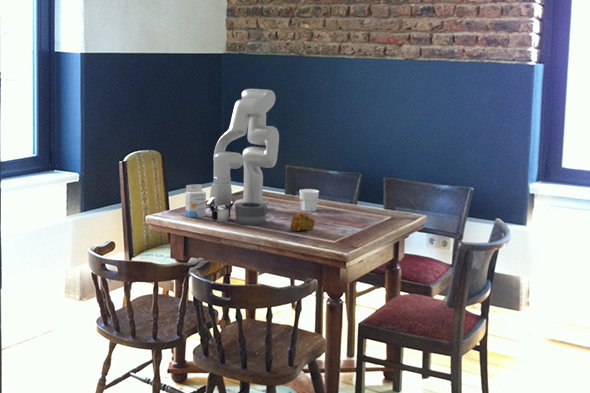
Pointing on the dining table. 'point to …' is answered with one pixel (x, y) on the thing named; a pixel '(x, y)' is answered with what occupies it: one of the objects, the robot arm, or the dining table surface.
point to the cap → (222, 214)
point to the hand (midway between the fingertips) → (221, 218)
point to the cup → (308, 199)
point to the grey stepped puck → (250, 213)
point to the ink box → (195, 201)
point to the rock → (301, 222)
